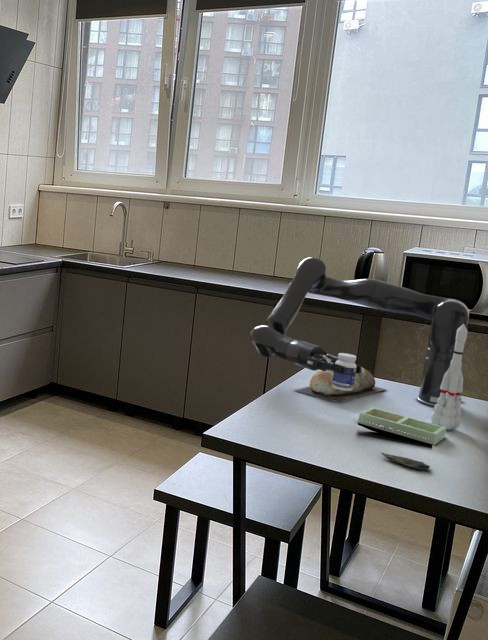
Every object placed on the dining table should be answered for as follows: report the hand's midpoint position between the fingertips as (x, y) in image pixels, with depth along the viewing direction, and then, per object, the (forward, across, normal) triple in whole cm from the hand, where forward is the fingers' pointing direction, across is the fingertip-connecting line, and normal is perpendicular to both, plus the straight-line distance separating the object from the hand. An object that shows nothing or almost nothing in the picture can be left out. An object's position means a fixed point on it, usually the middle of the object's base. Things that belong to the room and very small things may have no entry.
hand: (352, 370), depth 211 cm
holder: (+13, -6, -13) cm, 20 cm away
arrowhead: (+32, +18, -13) cm, 39 cm away
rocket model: (+15, -22, -14) cm, 30 cm away
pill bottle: (-2, 0, -6) cm, 7 cm away
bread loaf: (-19, -22, -14) cm, 32 cm away
